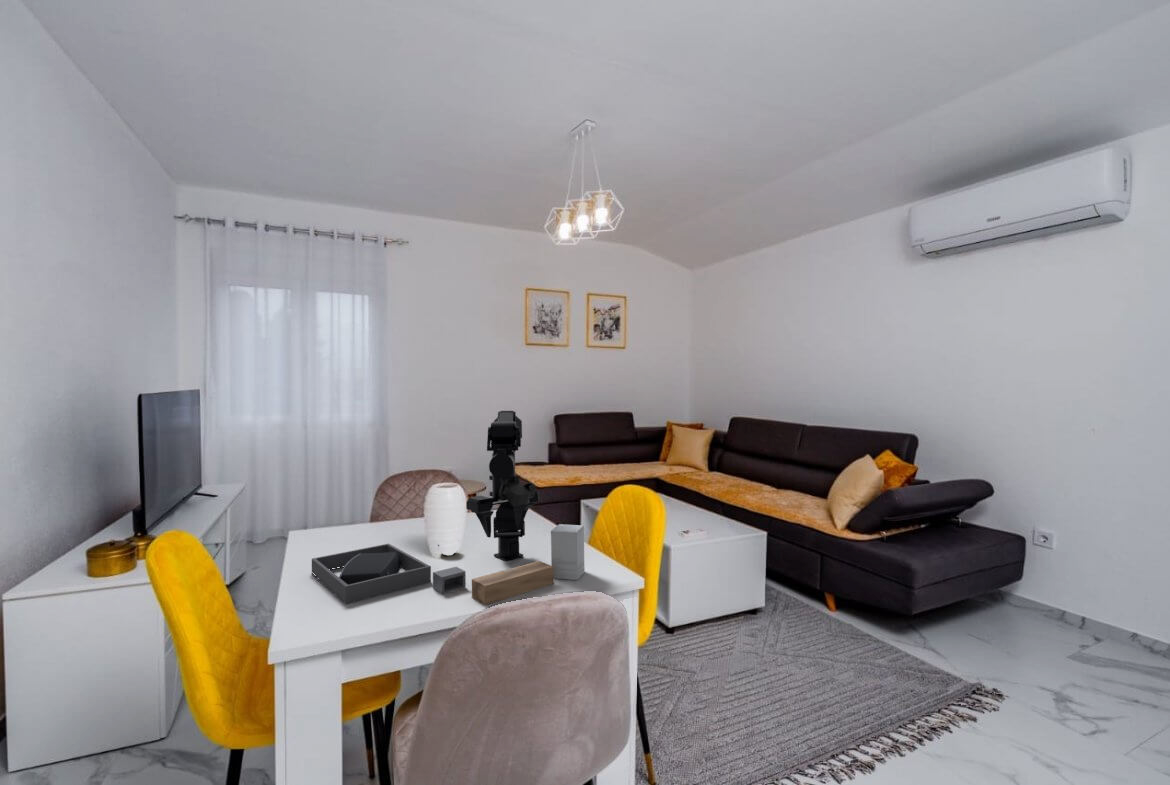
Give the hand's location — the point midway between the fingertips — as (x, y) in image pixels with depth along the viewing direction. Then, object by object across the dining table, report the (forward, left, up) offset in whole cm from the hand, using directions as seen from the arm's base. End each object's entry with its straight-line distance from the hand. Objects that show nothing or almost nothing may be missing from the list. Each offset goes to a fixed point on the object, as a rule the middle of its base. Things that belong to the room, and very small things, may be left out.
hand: (504, 533), depth 134 cm
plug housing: (-8, -11, -13) cm, 19 cm away
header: (+2, 0, -13) cm, 13 cm away
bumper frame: (-29, -23, -13) cm, 39 cm away
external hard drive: (-29, -23, -13) cm, 39 cm away
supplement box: (+5, +17, -13) cm, 22 cm away
